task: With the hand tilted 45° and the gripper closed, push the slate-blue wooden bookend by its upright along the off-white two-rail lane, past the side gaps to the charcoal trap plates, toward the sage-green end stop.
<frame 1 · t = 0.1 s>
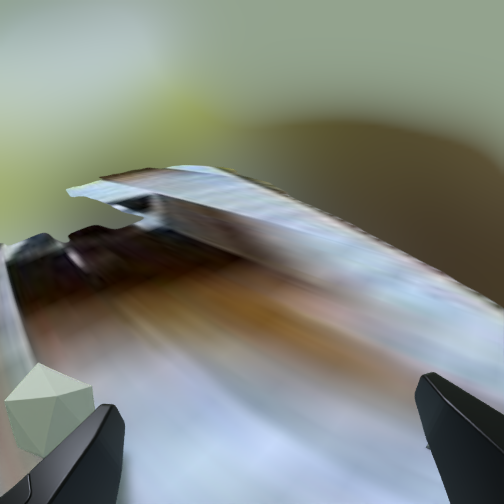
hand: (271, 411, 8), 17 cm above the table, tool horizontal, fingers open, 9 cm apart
die: (73, 445, 22), on the table
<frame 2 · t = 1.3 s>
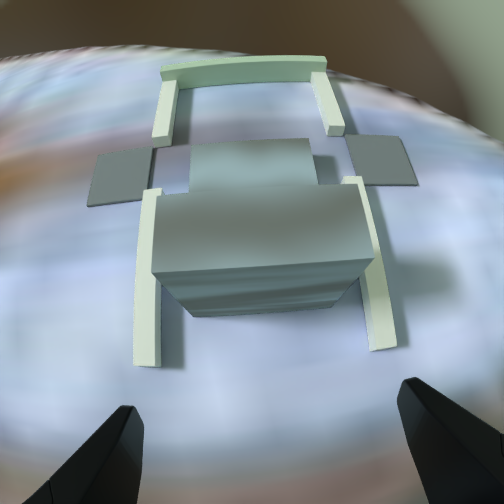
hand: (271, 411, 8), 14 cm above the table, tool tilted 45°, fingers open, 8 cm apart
lane: (256, 232, 25), on the table
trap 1: (380, 159, 28), on the table
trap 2: (120, 176, 28), on the table
bookend: (256, 226, 26), on the table
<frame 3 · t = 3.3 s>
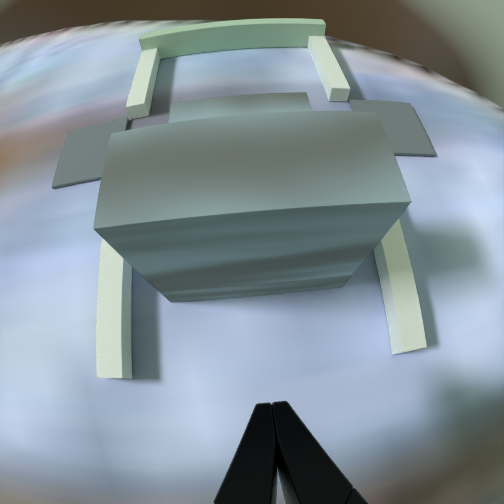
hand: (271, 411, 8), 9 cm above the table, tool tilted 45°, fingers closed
lane: (248, 209, 20), on the table
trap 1: (392, 127, 23), on the table
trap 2: (90, 152, 23), on the table
bookend: (247, 192, 21), on the table
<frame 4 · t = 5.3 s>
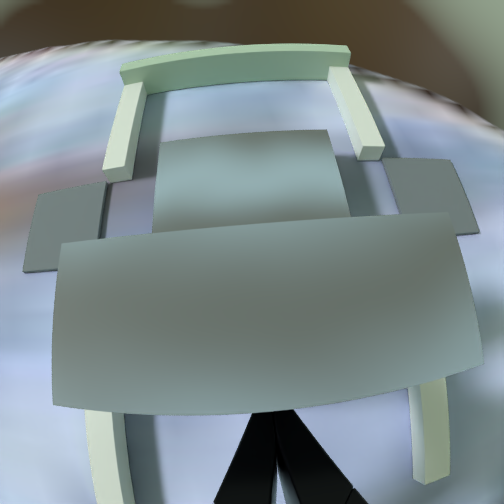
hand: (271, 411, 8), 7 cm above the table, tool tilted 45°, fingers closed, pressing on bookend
lane: (259, 326, 16), on the table
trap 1: (431, 196, 19), on the table
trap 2: (64, 227, 19), on the table
bookend: (254, 260, 18), on the table, touching gripper
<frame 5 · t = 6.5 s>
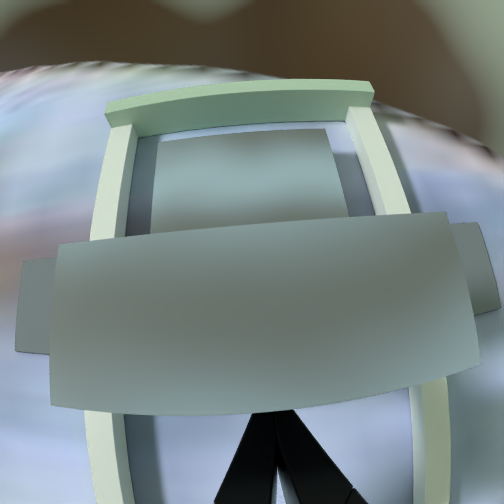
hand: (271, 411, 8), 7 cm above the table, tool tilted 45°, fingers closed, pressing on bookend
lane: (269, 428, 14), on the table
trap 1: (456, 270, 17), on the table
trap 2: (53, 305, 16), on the table
bookend: (252, 260, 18), on the table, touching gripper
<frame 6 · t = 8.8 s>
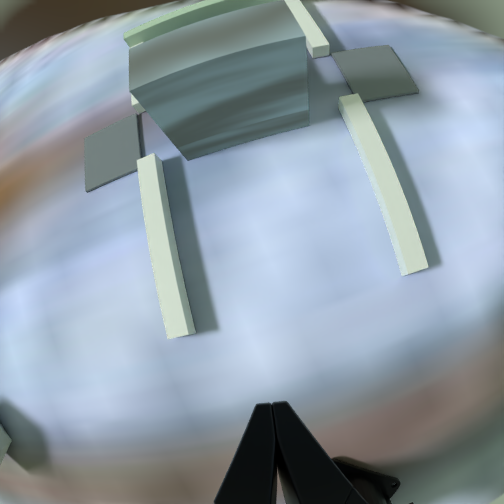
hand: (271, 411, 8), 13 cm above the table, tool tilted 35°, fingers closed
lane: (261, 174, 23), on the table
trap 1: (374, 72, 23), on the table
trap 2: (111, 152, 26), on the table
bookend: (230, 80, 26), on the table
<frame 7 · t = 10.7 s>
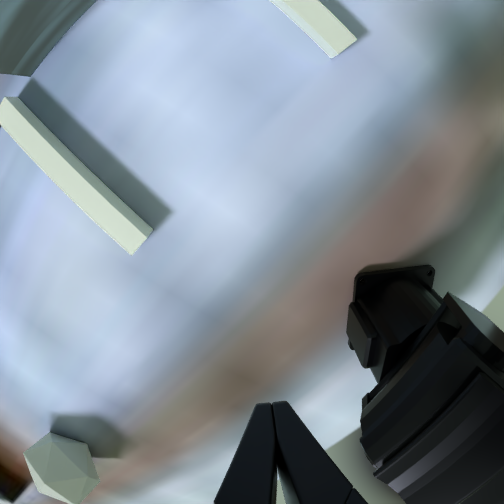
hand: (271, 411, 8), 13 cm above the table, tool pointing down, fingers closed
lane: (122, 36, 15), on the table
die: (71, 443, 29), on the table
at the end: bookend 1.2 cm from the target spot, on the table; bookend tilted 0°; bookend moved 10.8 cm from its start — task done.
